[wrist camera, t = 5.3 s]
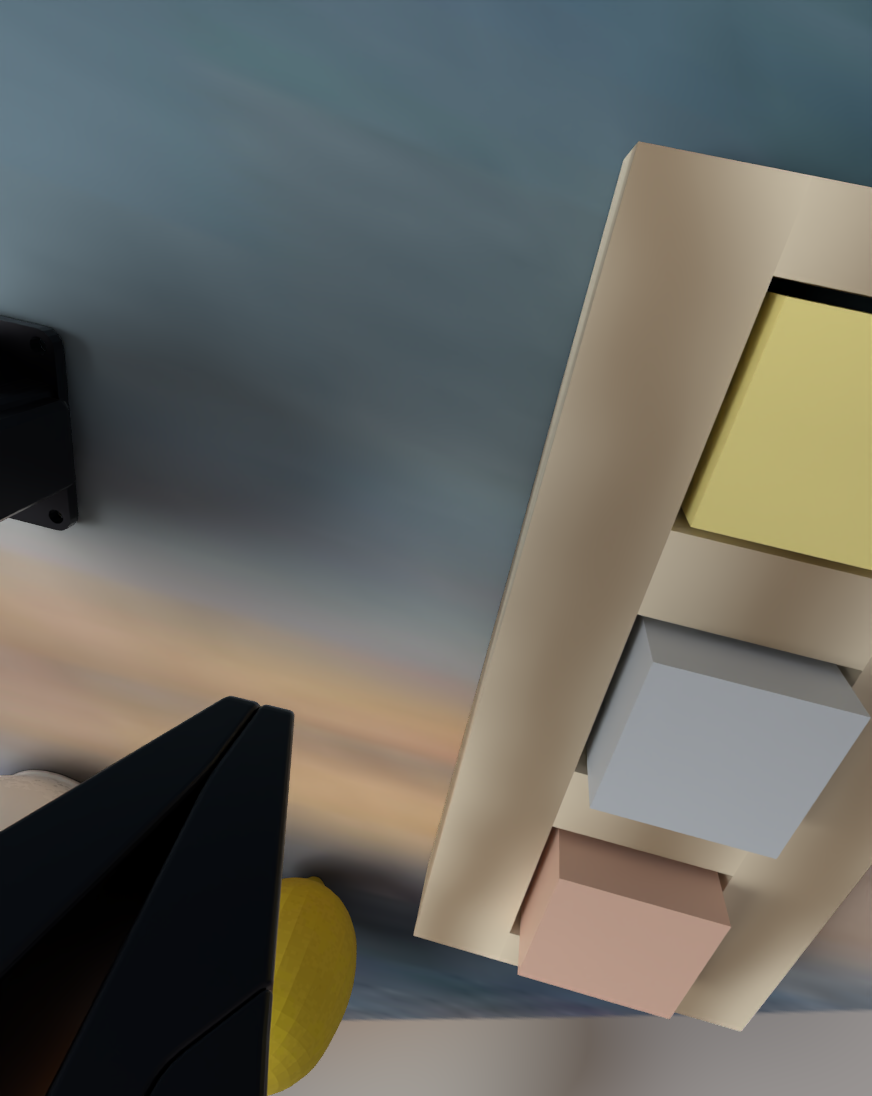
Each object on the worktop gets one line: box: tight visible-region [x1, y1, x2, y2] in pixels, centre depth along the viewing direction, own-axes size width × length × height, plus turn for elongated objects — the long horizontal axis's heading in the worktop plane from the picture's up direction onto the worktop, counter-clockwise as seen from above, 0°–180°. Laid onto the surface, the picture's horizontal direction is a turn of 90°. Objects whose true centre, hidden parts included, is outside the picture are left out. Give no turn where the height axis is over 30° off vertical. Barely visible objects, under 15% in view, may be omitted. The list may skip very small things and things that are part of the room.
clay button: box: [518, 826, 731, 1019], centre depth 21 cm, size 5×5×3 cm
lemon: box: [267, 876, 357, 1096], centre depth 24 cm, size 6×6×8 cm
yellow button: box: [681, 291, 872, 570], centre depth 14 cm, size 5×5×3 cm
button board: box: [413, 142, 872, 1031], centre depth 18 cm, size 12×25×3 cm, turn 169°
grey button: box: [586, 614, 871, 859], centre depth 17 cm, size 5×5×3 cm
